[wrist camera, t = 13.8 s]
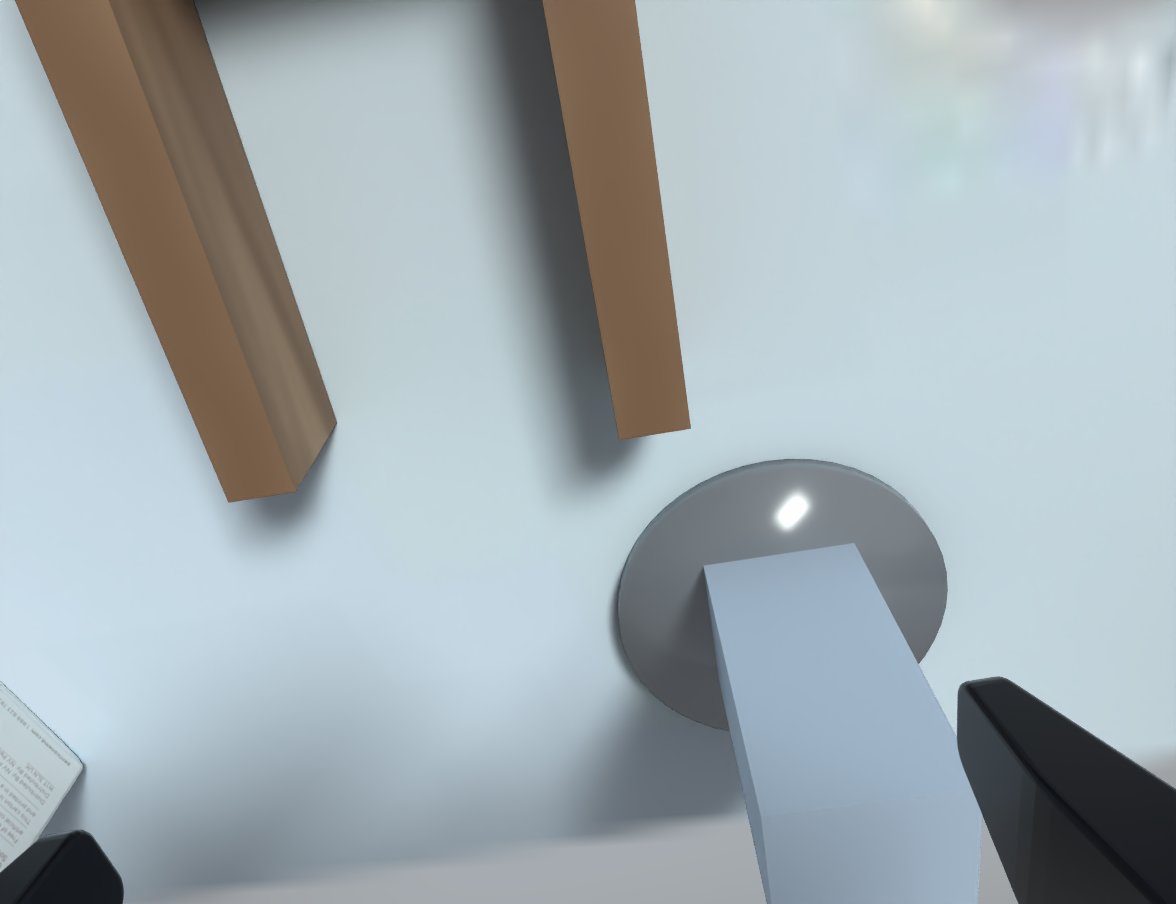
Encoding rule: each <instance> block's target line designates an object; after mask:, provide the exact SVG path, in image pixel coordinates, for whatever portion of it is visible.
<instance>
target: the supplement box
mask: <svg viewBox="0 0 1176 904" xmlns="http://www.w3.org/2000/svg"><path fill="white" fill-rule="evenodd" d="M82 770H83V765H82V763H81V762H80V760H79V758H78V757H77V756H76V755H75V754H74V753H73V752H72V751H71V750H70V749H69V748H68V747H67V746H66V745H65V744H64V743H63V742H62V741H61V740H60V739H59V738H58V737H57V736H56V735H55V734H54V733H53V732H52V731H51V730H50V729H49V728H48V727H47V726H46V725H45V724H44V723H43V722H42V721H41V720H40V719H39V718H38V717H37V716H36V715H34V714H33V713H32V712H31V711H30V710H29V709H28V708H27V707H26V706H25V705H24V704H23V703H22V702H21V701H20V700H19V699H18V698H17V697H16V696H15V695H14V694H13V693H12V692H11V691H10V690H9V689H8V688H7V687H5V686H4V685H3V684H2V683H1V682H0V872H1V871H2V870H3V869H5V868H6V867H7V866H8V865H9V864H10V863H12V862H13V861H14V860H15V859H16V858H17V857H18V856H20V855H21V854H22V853H23V852H24V851H25V850H26V849H28V848H29V847H30V846H31V845H32V844H33V843H35V842H36V841H37V840H38V838H39V837H40V835H41V834H42V832H43V830H44V829H45V827H46V826H47V824H48V823H49V821H50V820H51V818H52V816H53V815H54V813H55V812H56V810H57V808H58V807H59V805H60V804H61V802H62V801H63V799H64V797H65V796H66V795H67V793H68V792H69V790H70V789H71V787H72V786H73V784H74V782H75V781H76V779H77V777H78V776H79V774H80V773H81V771H82Z"/></svg>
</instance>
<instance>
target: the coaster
mask: <svg viewBox="0 0 1176 904" xmlns="http://www.w3.org/2000/svg"><path fill="white" fill-rule="evenodd" d="M851 543H855V545H856V547H857V549H858V551H859V553H860V555H861V556H862V558H863V560H864V562H865V564H866V566H867V568H868V570H869V572H870V574H871V575H872V577H873V579H874V581H875V583H876V585H877V587H878V589H879V591H880V592H881V594H882V596H883V598H884V600H885V602H886V604H887V606H888V608H889V610H890V611H891V613H892V615H893V617H894V619H895V621H896V623H897V625H898V627H899V628H900V630H901V632H902V634H903V636H904V638H905V640H906V642H907V644H908V646H909V647H910V649H911V651H912V653H913V655H914V657H915V659H916V661H917V663H918V664H919V663H920V662H921V660H922V659H923V658H924V657H925V655H926V653H927V652H928V650H929V648H930V647H931V645H932V643H933V642H934V640H935V637H936V635H937V633H938V630H939V628H940V626H941V623H942V619H943V616H944V612H945V608H946V600H947V591H948V589H947V572H946V568H945V564H944V559H943V555H942V553H941V551H940V548H939V546H938V544H937V541H936V539H935V537H934V536H933V534H932V533H931V531H930V530H929V528H928V526H927V525H926V523H925V522H924V521H923V519H922V518H921V516H920V515H919V513H918V512H917V511H916V510H915V509H914V507H913V506H912V505H911V504H910V503H909V502H908V501H907V500H906V499H905V498H904V497H903V496H902V495H901V494H899V493H898V492H897V491H896V490H894V489H893V488H892V487H891V486H889V485H887V484H886V483H884V482H882V481H881V480H879V479H877V478H875V477H874V476H872V475H869V474H867V473H864V472H862V471H860V470H857V469H855V468H852V467H848V466H844V465H840V464H837V463H833V462H826V461H819V460H811V459H784V460H773V461H764V462H760V463H755V464H750V465H746V466H742V467H739V468H736V469H733V470H730V471H727V472H724V473H721V474H719V475H716V476H714V477H712V478H710V479H708V480H706V481H704V482H701V483H700V484H698V485H696V486H695V487H693V488H691V489H690V490H688V491H687V492H685V493H683V494H682V495H680V496H679V497H678V498H677V499H675V500H674V501H673V502H672V503H670V504H669V505H668V506H667V507H665V508H664V509H663V510H662V511H661V512H660V513H659V514H658V515H657V516H656V517H655V518H654V519H653V520H652V521H651V522H650V524H649V525H648V526H647V528H646V529H645V530H644V532H643V533H642V534H641V536H640V537H639V538H638V540H637V542H636V543H635V545H634V547H633V549H632V551H631V553H630V554H629V556H628V559H627V562H626V564H625V567H624V570H623V572H622V577H621V581H620V586H619V595H618V616H619V626H620V635H621V640H622V643H623V647H624V650H625V654H626V656H627V658H628V660H629V662H630V664H631V666H632V668H633V670H634V671H635V673H636V674H637V676H638V677H639V679H640V680H641V682H642V683H643V684H644V685H645V686H646V687H647V688H648V689H649V690H650V692H651V693H652V694H653V695H654V696H656V697H657V698H658V699H659V700H661V701H662V702H663V703H664V704H665V705H667V706H668V707H670V708H672V709H673V710H675V711H676V712H678V713H680V714H681V715H683V716H685V717H688V718H690V719H692V720H694V721H696V722H699V723H702V724H705V725H708V726H711V727H714V728H717V729H722V730H727V731H730V729H729V724H728V720H727V715H726V710H725V706H724V701H723V696H722V691H721V687H720V682H719V676H718V669H717V662H716V654H715V647H714V640H713V632H712V625H711V618H710V610H709V603H708V596H707V588H706V581H705V574H704V566H705V565H711V564H718V563H725V562H731V561H738V560H745V559H751V558H758V557H765V556H771V555H778V554H785V553H791V552H798V551H805V550H811V549H818V548H825V547H831V546H838V545H844V544H851Z"/></svg>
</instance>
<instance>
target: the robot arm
mask: <svg viewBox="0 0 1176 904" xmlns="http://www.w3.org/2000/svg"><path fill="white" fill-rule="evenodd" d="M957 746H958V752H959V756H960V760H961V763H962V766H963V769H964V771H965V773H966V776H967V778H968V781H969V783H970V786H971V788H972V791H973V793H974V796H975V798H976V801H977V803H978V806H979V808H980V810H981V813H982V815H983V818H984V820H985V823H986V825H987V828H988V830H989V833H990V835H991V838H992V840H993V842H994V845H995V847H996V850H997V852H998V854H999V857H1000V860H1001V862H1002V864H1003V867H1004V870H1005V872H1006V875H1007V877H1008V879H1009V882H1010V884H1011V887H1012V889H1013V892H1014V894H1015V897H1016V899H1017V901H1018V903H1019V904H1176V789H1175V788H1174V787H1172V786H1170V785H1169V784H1167V783H1166V782H1164V781H1163V780H1161V779H1160V778H1158V777H1156V776H1155V775H1154V774H1152V773H1151V772H1149V771H1147V770H1146V769H1145V768H1143V767H1141V766H1140V765H1138V764H1137V763H1135V762H1134V761H1132V760H1131V759H1129V758H1128V757H1126V756H1125V755H1123V754H1122V753H1120V752H1119V751H1117V750H1116V749H1114V748H1113V747H1111V746H1109V745H1108V744H1106V743H1105V742H1103V741H1102V740H1100V739H1099V738H1097V737H1096V736H1094V735H1093V734H1091V733H1090V732H1088V731H1087V730H1085V729H1084V728H1082V727H1081V726H1079V725H1077V724H1076V723H1074V722H1073V721H1071V720H1070V719H1068V718H1067V717H1065V716H1064V715H1062V714H1061V713H1059V712H1058V711H1056V710H1055V709H1053V708H1052V707H1050V706H1048V705H1047V704H1045V703H1044V702H1042V701H1041V700H1039V699H1038V698H1036V697H1035V696H1033V695H1032V694H1030V693H1029V692H1027V691H1026V690H1024V689H1023V688H1021V687H1020V686H1018V685H1016V684H1015V683H1013V682H1012V681H1010V680H1008V679H1006V678H1003V677H990V678H984V679H978V680H972V681H966V682H964V683H962V684H961V685H960V687H959V690H958V706H957ZM123 895H124V889H123V882H122V879H121V877H120V875H119V873H118V872H117V870H116V869H115V867H114V866H113V865H112V863H111V862H110V860H109V859H108V857H107V856H106V854H105V853H104V852H103V850H102V849H101V847H100V846H99V844H98V843H97V841H96V840H95V839H94V837H93V836H92V835H91V834H90V833H88V832H86V831H84V830H73V831H67V832H61V833H55V834H50V835H47V836H44V837H42V838H40V839H38V840H37V841H36V842H35V843H33V844H32V845H31V846H30V847H29V848H28V849H26V850H25V851H24V852H23V853H22V854H21V855H20V856H18V857H17V858H16V859H15V860H14V861H13V862H12V863H10V864H9V865H8V866H7V867H6V868H5V869H3V870H2V871H1V872H0V904H123Z"/></svg>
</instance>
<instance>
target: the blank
mask: <svg viewBox="0 0 1176 904" xmlns="http://www.w3.org/2000/svg"><path fill="white" fill-rule="evenodd" d="M704 574H705V581H706V588H707V596H708V603H709V610H710V618H711V625H712V632H713V640H714V647H715V654H716V662H717V669H718V676H719V682H720V687H721V691H722V696H723V701H724V706H725V710H726V715H727V720H728V724H729V729H730V734H731V738H732V743H733V748H734V752H735V757H736V762H737V766H738V771H739V776H740V780H741V785H742V790H743V794H744V799H745V804H746V809H747V813H748V818H749V823H750V827H751V832H752V836H753V841H754V846H755V850H756V855H757V860H758V865H759V869H760V874H761V879H762V883H763V888H764V893H765V897H766V902H767V904H978V889H979V888H978V887H979V871H980V852H981V833H982V813H981V810H980V808H979V806H978V803H977V801H976V798H975V796H974V793H973V791H972V788H971V786H970V783H969V781H968V778H967V776H966V773H965V771H964V769H963V766H962V763H961V760H960V756H959V752H958V746H957V736H956V735H955V733H954V731H953V729H952V727H951V725H950V723H949V721H948V719H947V717H946V716H945V714H944V712H943V710H942V708H941V706H940V704H939V702H938V700H937V699H936V697H935V695H934V693H933V691H932V689H931V687H930V685H929V683H928V682H927V680H926V678H925V676H924V674H923V672H922V670H921V668H920V666H919V664H918V663H917V661H916V659H915V657H914V655H913V653H912V651H911V649H910V647H909V646H908V644H907V642H906V640H905V638H904V636H903V634H902V632H901V630H900V628H899V627H898V625H897V623H896V621H895V619H894V617H893V615H892V613H891V611H890V610H889V608H888V606H887V604H886V602H885V600H884V598H883V596H882V594H881V592H880V591H879V589H878V587H877V585H876V583H875V581H874V579H873V577H872V575H871V574H870V572H869V570H868V568H867V566H866V564H865V562H864V560H863V558H862V556H861V555H860V553H859V551H858V549H857V547H856V545H855V543H851V544H844V545H838V546H831V547H825V548H818V549H811V550H805V551H798V552H791V553H785V554H778V555H771V556H765V557H758V558H751V559H745V560H738V561H731V562H725V563H718V564H711V565H705V566H704Z"/></svg>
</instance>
